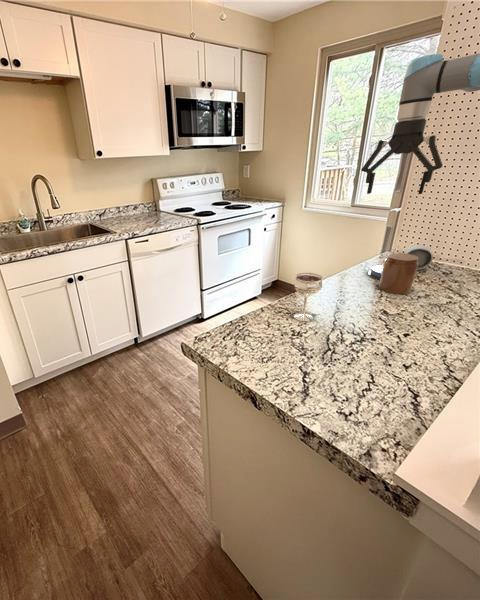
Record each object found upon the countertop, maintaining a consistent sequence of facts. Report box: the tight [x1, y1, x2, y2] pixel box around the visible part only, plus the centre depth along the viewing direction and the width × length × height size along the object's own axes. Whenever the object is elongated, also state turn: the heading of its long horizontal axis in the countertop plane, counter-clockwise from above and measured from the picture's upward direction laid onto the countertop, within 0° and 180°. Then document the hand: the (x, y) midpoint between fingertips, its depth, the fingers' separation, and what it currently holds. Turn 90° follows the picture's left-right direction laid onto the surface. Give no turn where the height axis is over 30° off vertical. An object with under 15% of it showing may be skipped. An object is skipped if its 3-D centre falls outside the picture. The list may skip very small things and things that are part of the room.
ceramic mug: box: [404, 244, 434, 271], centre depth 110 cm, size 11×8×8 cm
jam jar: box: [377, 252, 419, 295], centre depth 94 cm, size 8×8×10 cm
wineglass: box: [293, 272, 324, 322], centre depth 84 cm, size 7×7×12 cm
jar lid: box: [370, 264, 384, 278], centre depth 105 cm, size 9×9×2 cm
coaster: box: [367, 270, 380, 281], centre depth 106 cm, size 10×10×1 cm
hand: (393, 193), depth 102 cm, fingers open, 13 cm apart
